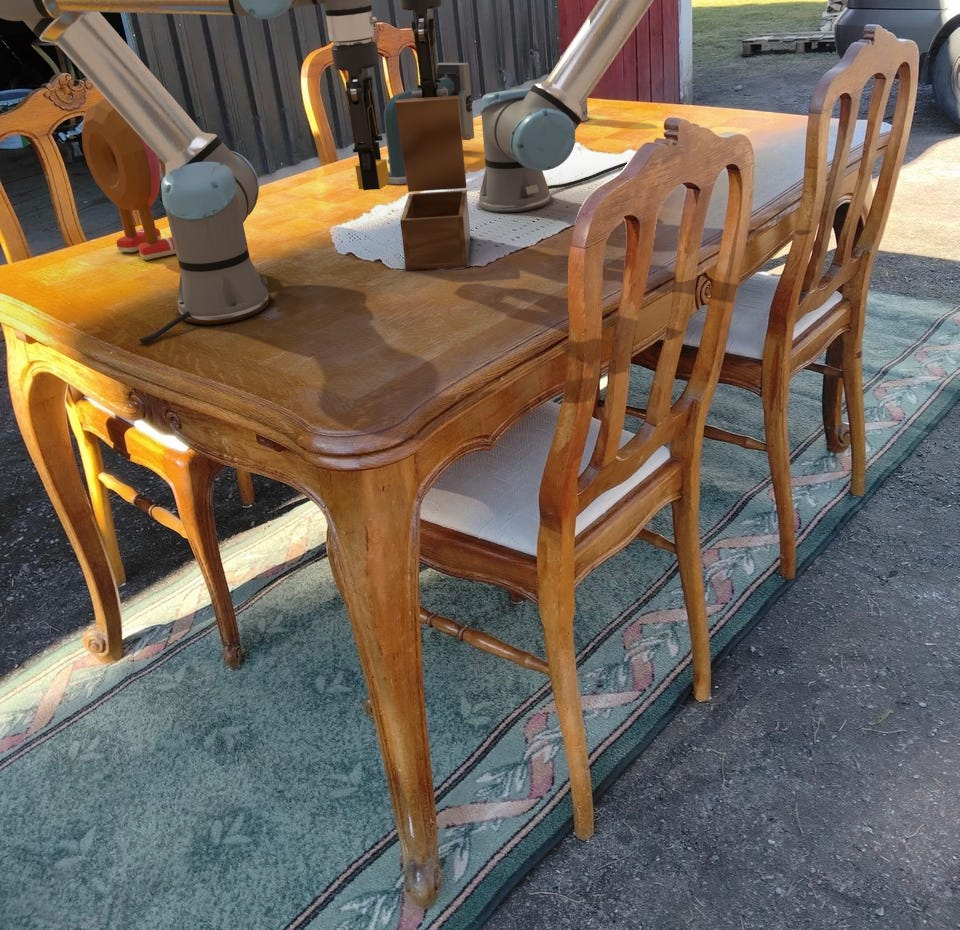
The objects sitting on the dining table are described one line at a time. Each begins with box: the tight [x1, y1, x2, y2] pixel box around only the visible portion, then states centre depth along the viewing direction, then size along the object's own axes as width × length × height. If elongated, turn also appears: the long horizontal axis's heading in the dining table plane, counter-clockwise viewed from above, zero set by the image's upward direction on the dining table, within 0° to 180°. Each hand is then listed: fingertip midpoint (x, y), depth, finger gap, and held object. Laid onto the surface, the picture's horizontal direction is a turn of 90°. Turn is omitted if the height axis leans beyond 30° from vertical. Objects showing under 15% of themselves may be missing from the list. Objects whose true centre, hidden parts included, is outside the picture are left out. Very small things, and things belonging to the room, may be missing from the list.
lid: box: [395, 89, 468, 193], centre depth 182 cm, size 18×11×9 cm
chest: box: [399, 189, 471, 271], centre depth 181 cm, size 17×11×9 cm, turn 179°
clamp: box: [383, 62, 475, 185], centre depth 238 cm, size 35×9×21 cm, turn 151°
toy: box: [81, 97, 176, 260], centre depth 191 cm, size 21×10×30 cm, turn 47°
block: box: [354, 158, 390, 190], centre depth 169 cm, size 4×4×4 cm
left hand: (373, 184), depth 169 cm, fingers closed on block, 5 cm apart
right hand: (433, 122), depth 182 cm, fingers closed on lid, 2 cm apart
